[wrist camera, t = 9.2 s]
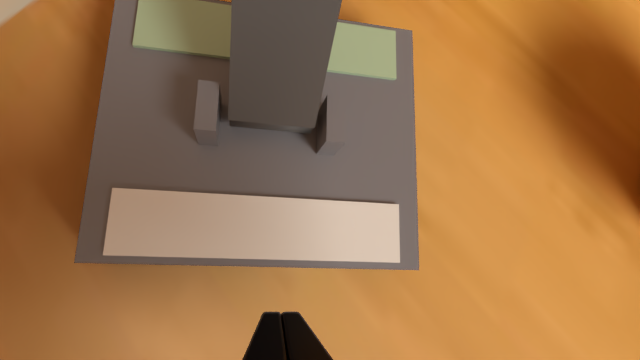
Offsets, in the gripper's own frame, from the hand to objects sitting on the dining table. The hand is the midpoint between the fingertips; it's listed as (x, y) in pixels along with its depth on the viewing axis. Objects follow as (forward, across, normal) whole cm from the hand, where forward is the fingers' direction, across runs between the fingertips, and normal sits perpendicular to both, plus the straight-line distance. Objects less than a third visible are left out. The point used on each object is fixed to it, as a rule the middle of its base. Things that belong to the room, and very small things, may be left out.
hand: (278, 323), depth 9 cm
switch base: (+12, 0, -2) cm, 12 cm away
